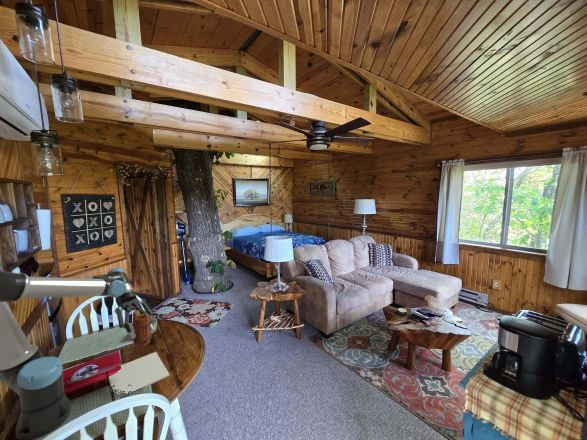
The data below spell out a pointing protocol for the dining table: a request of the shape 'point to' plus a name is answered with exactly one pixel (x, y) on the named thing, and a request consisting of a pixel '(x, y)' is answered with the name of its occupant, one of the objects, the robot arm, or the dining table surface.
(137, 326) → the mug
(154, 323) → the teacup
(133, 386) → the placemat
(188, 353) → the dining table surface
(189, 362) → the dining table surface
